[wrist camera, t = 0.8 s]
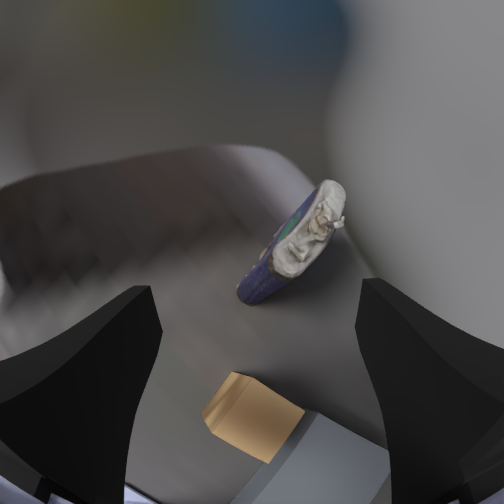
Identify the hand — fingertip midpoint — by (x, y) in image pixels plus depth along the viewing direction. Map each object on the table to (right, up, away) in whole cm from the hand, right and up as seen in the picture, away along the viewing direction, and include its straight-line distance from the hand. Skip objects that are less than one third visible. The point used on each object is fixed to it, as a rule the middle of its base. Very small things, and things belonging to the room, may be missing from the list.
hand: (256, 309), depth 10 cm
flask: (+1, +1, +17) cm, 17 cm away
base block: (+6, -20, +11) cm, 23 cm away
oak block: (-1, -11, +12) cm, 16 cm away
